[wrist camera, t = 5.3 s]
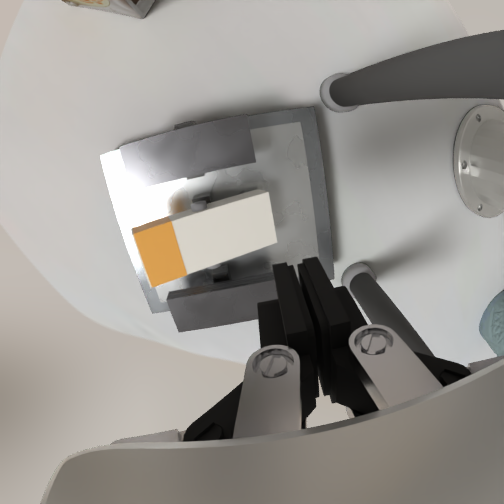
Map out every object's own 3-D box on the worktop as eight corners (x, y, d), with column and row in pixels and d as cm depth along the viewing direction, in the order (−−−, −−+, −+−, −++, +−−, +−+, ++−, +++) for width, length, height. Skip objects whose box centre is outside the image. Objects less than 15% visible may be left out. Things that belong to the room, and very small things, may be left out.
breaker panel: (304, 103, 21) (327, 97, 16) (326, 269, 27) (347, 303, 22) (110, 148, 21) (78, 155, 16) (159, 302, 27) (145, 340, 22)
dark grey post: (352, 75, 20) (532, 31, 4) (359, 111, 22) (548, 117, 5) (316, 76, 20) (480, 6, 4) (323, 113, 22) (503, 109, 5)
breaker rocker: (257, 183, 20) (267, 186, 19) (267, 241, 22) (278, 247, 21) (129, 222, 18) (129, 228, 16) (150, 283, 19) (152, 293, 18)
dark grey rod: (371, 259, 27) (486, 398, 11) (371, 288, 28) (468, 427, 12) (340, 266, 27) (441, 422, 11) (341, 295, 28) (426, 449, 12)
